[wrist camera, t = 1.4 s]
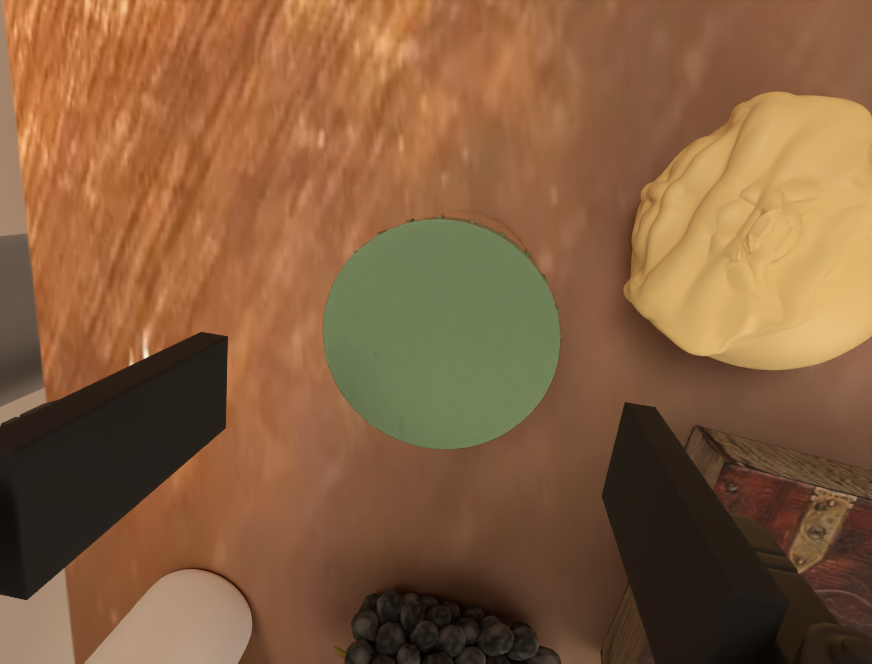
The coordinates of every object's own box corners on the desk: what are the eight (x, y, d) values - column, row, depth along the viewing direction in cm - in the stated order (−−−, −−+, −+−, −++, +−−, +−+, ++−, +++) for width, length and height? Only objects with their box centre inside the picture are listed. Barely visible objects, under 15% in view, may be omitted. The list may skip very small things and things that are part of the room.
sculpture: (683, 87, 28) (788, 30, 18) (881, 191, 28) (1098, 195, 18) (572, 277, 32) (607, 321, 21) (750, 370, 32) (871, 458, 21)
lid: (326, 412, 24) (313, 429, 23) (343, 200, 22) (330, 201, 20) (534, 448, 24) (537, 468, 22) (578, 233, 21) (584, 237, 19)
